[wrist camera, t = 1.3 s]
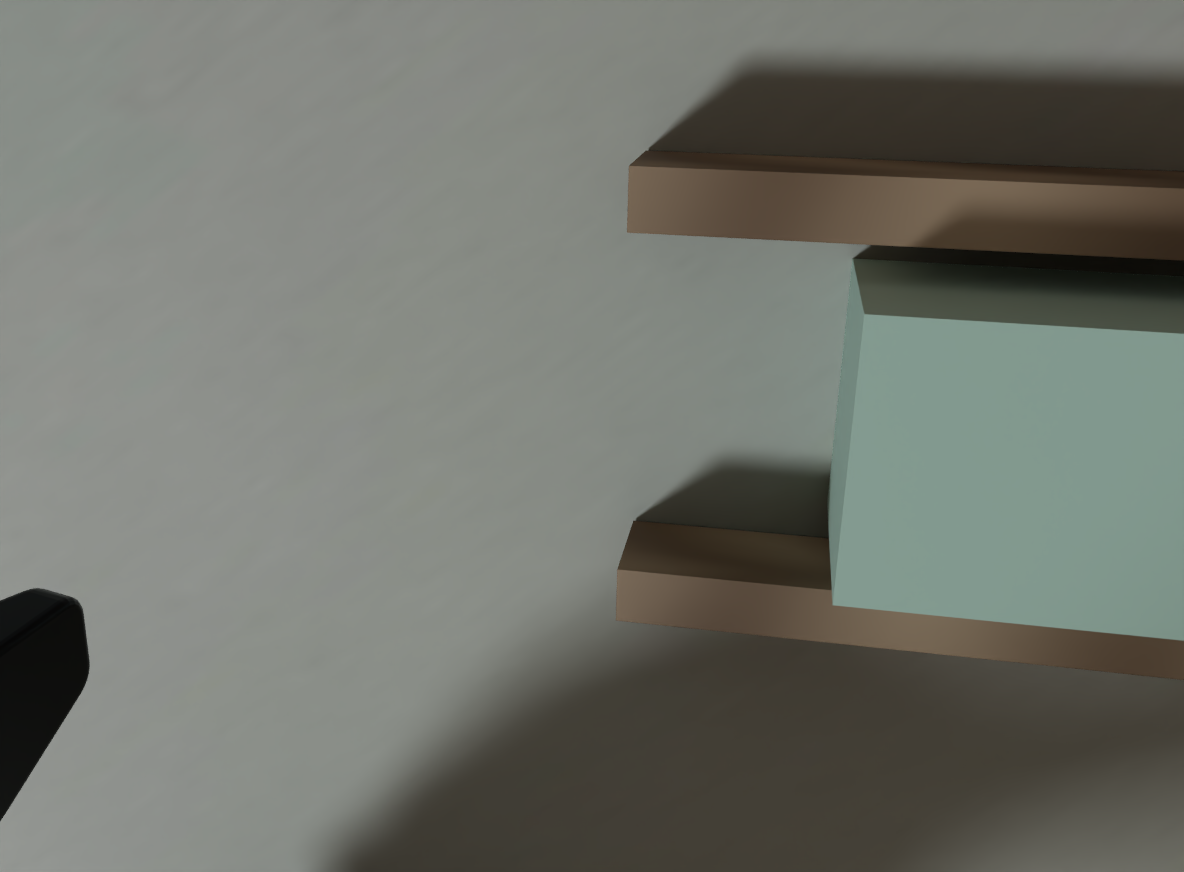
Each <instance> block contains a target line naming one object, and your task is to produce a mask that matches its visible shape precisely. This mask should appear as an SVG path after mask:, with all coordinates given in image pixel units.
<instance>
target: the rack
mask: <svg viewBox="0 0 1184 872" xmlns="http://www.w3.org/2000/svg"><path fill="white" fill-rule="evenodd" d="M627 232H628V233H648V234H668V235H687V236H707V237H727V238H747V239H767V240H787V241H807V242H826V243H846V244H866V245H886V246H906V247H926V248H945V249H965V250H985V251H1005V252H1025V253H1045V254H1065V255H1084V256H1104V257H1124V258H1144V259H1164V260H1184V171H1158V170H1133V169H1107V168H1081V167H1055V166H1030V165H1004V164H978V163H952V162H927V161H901V160H875V159H849V158H824V157H798V156H772V155H746V154H721V153H695V152H669V151H645V152H644V153H643V154H642V155H641V156H640V157H638V158H637V159H636V160H635V161H634V162H633V163H632V164H631V165H630V166H629V183H628V218H627ZM616 620H617V621H626V622H636V623H645V624H655V625H664V626H674V627H684V628H693V629H703V630H712V631H722V632H731V633H741V634H750V635H760V636H769V637H779V638H789V639H798V640H808V641H817V642H827V643H836V644H846V645H855V646H865V647H874V648H884V649H894V650H903V651H913V652H922V653H932V654H941V655H951V656H960V657H970V658H979V659H989V660H999V661H1008V662H1018V663H1027V664H1037V665H1046V666H1056V667H1065V668H1075V669H1084V670H1094V671H1104V672H1113V673H1123V674H1132V675H1142V676H1151V677H1161V678H1170V679H1180V680H1184V641H1182V640H1173V639H1163V638H1153V637H1143V636H1133V635H1123V634H1113V633H1103V632H1093V631H1083V630H1073V629H1063V628H1053V627H1043V626H1034V625H1024V624H1014V623H1004V622H994V621H984V620H974V619H964V618H954V617H944V616H934V615H924V614H914V613H905V612H895V611H885V610H875V609H865V608H855V607H845V606H835V605H833V603H832V584H831V565H830V546H829V538H819V537H807V536H796V535H785V534H774V533H763V532H752V531H741V530H730V529H719V528H708V527H697V526H686V525H675V524H664V523H653V522H642V521H633V524H632V527H631V530H630V533H629V536H628V539H627V542H626V545H625V548H624V551H623V554H622V557H621V560H620V563H619V566H618V569H617V601H616Z"/></svg>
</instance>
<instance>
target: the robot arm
mask: <svg viewBox="0 0 1184 872" xmlns="http://www.w3.org/2000/svg"><path fill="white" fill-rule="evenodd" d="M89 666H90V665H89V654H88V646H87V638H86V630H85V622H84V614H83V609H82V606H81V605H80V603H79V602H78V600H76V599H74V598H73V597H70V596H66V595H63V594H59V593H56V592H53V591H49V590H45V589H40V588H35V589H30V590H26V591H23V592H21V593H18V594H16V595H13V596H11V597H8V598H6V599H3V600H1V601H0V821H1V819H2V818H3V816H4V815H5V813H6V812H7V810H8V809H9V807H10V806H11V804H12V802H13V801H14V799H15V798H16V796H17V794H18V793H19V791H20V790H21V788H22V786H23V785H24V783H25V782H26V780H27V778H28V777H29V775H30V774H31V772H32V770H33V769H34V767H35V766H36V764H37V762H38V761H39V759H40V758H41V756H42V754H43V753H44V751H45V750H46V748H47V747H48V745H49V743H50V742H51V740H52V739H53V737H54V735H55V734H56V732H57V731H58V729H59V727H60V726H61V724H62V723H63V721H64V719H65V718H66V716H67V715H68V713H69V711H70V710H71V708H72V707H73V705H74V703H75V702H76V700H77V699H78V697H79V695H80V694H81V692H82V690H83V688H84V686H85V684H86V681H87V678H88V674H89Z"/></svg>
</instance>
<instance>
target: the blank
mask: <svg viewBox="0 0 1184 872" xmlns="http://www.w3.org/2000/svg"><path fill="white" fill-rule="evenodd" d="M827 508H828V527H829V546H830V565H831V584H832V603H833V605H835V606H845V607H855V608H865V609H875V610H885V611H895V612H905V613H914V614H924V615H934V616H944V617H954V618H964V619H974V620H984V621H994V622H1004V623H1014V624H1024V625H1034V626H1043V627H1053V628H1063V629H1073V630H1083V631H1093V632H1103V633H1113V634H1123V635H1133V636H1143V637H1153V638H1163V639H1173V640H1182V641H1184V276H1167V275H1148V274H1130V273H1112V272H1093V271H1075V270H1056V269H1038V268H1019V267H1001V266H982V265H964V264H946V263H927V262H909V261H890V260H872V259H853V260H852V269H851V279H850V289H849V298H848V308H847V318H846V327H845V337H844V347H843V356H842V366H841V376H840V385H839V395H838V405H837V414H836V424H835V434H834V443H833V453H832V463H831V472H830V482H829V492H828V501H827Z"/></svg>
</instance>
